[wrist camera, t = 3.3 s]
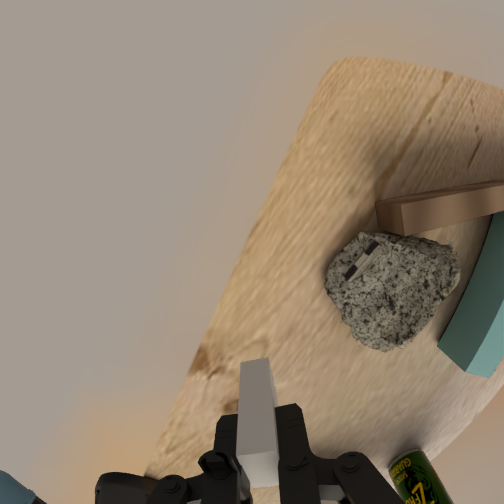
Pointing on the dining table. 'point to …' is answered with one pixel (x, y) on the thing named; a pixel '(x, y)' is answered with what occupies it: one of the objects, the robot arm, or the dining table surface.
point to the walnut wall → (440, 207)
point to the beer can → (417, 479)
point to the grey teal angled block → (480, 311)
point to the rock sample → (390, 286)
